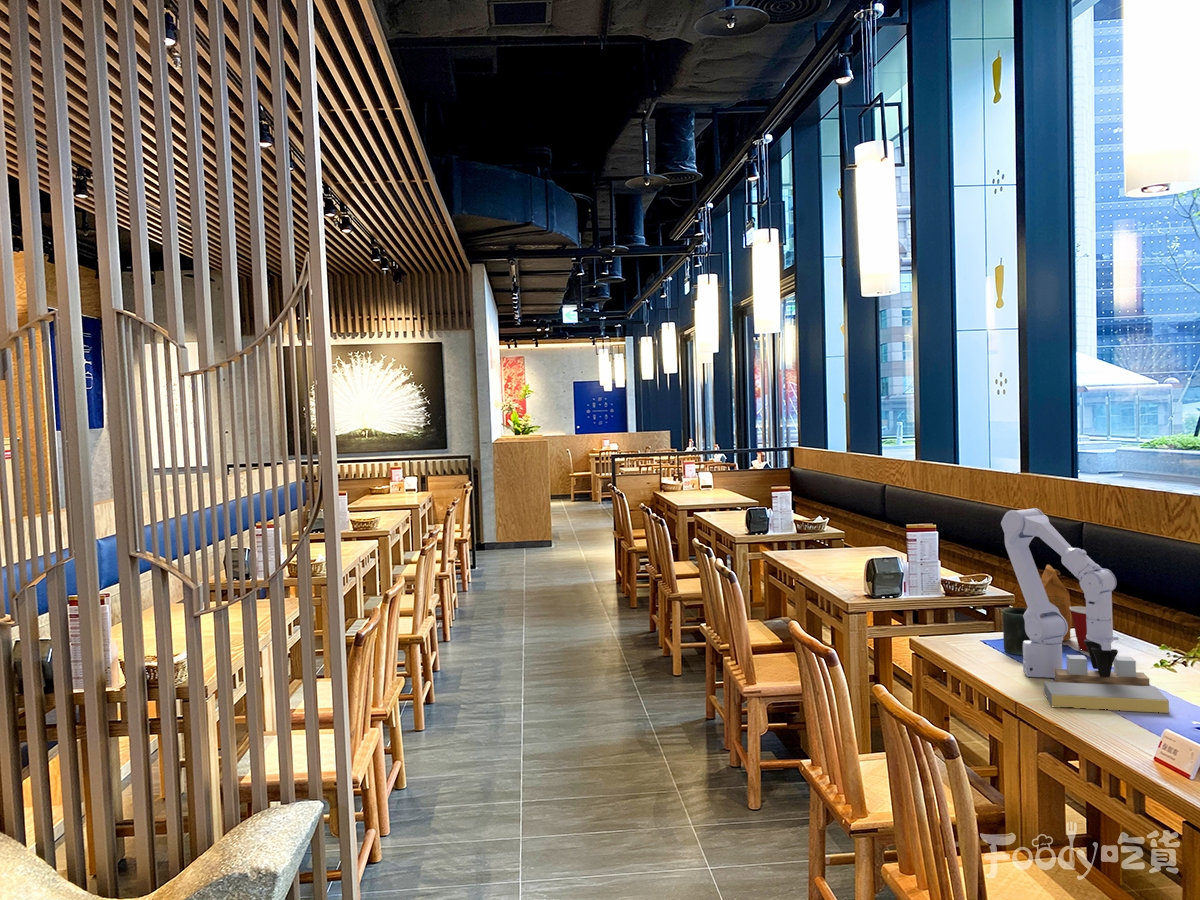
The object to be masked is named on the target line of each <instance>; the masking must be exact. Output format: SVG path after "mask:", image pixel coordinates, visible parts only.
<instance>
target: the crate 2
mask: <svg viewBox="0 0 1200 900" xmlns="http://www.w3.org/2000/svg"><path fill="white" fill-rule="evenodd" d="M1136 667H1137V662H1136V660H1135V659H1134V658H1133V657H1132V656H1120V655H1119V656H1117V655H1116V657H1115V659H1114V661H1113V671H1114V673H1115V674H1116V675H1117V676H1119V677H1136V672H1137V668H1136Z"/></svg>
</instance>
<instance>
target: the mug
mask: <svg viewBox="0 0 1200 900" xmlns="http://www.w3.org/2000/svg"><path fill="white" fill-rule="evenodd" d="M1027 608H1028V607H1022V606H1021V607H1019V606H1017V607H1016V606H1015V607H1005V608H1002V609H1001V610H1000V611H1001V612H1000V613H1002V625H1003V626H1002V631H1003V635H1002V637H1003V649H1004V651H1005V652H1006V653H1008V654H1010V655H1011V654H1012V655H1016V656H1017V655H1018V656H1023V641H1027V640H1030V638H1029V637H1028V636H1027V634H1026V632H1025V620H1024V618H1023V615H1024V613H1025V611H1026V610H1027ZM1040 617H1041V615H1040Z"/></svg>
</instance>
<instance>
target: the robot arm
mask: <svg viewBox="0 0 1200 900" xmlns="http://www.w3.org/2000/svg"><path fill="white" fill-rule="evenodd" d="M1000 526H1001V527H1002V531H1003V534H1004V546H1005V550H1006V552H1007V554H1008V558H1009V560H1010V562H1011V565H1012V568H1013V572H1014V573H1015V577H1016V578H1017V582H1018V584H1019V587H1020V590H1021V593H1022V595H1023V599H1024V601H1025V603H1026V606H1027V607H1026V608H1027V610H1026V611H1025V613H1024V615H1023V618H1024V620H1025V632H1026V634H1027V636H1028V637H1029V638H1030V640H1027V641H1023V655H1022V670H1023V672H1024V673H1025V675H1026V677H1028V678H1045V679H1046V678H1049V679H1050V678H1051V679H1055V669H1064V667H1063V666H1064V664H1063V641H1064V640H1063V636H1065V635H1066V633H1067V631H1068V624H1067V622H1066V620H1065V618H1064V617H1063V616H1062V615H1061V614H1060V612H1059V609H1058V608H1057V607H1056V606H1054V605H1053V604H1051V603H1050V602H1049V600H1048V597H1047V594H1046V592H1045V589H1044V586H1043V584H1042V581H1041V578H1042V577H1041V576H1040V573H1039V571H1038V567H1037V565H1036V563H1035V560H1034V558H1033V555H1032V552H1031V550H1030V547H1029V546H1030V544H1031V542H1032V540H1033V539H1034V538H1035V537H1037V538H1040V540H1041V541H1043V542H1044V543H1045V544H1046V545H1047V546H1049V547H1050V548H1051V549H1053V550H1054V551H1055V552H1056V553H1057V554H1058V555H1059V556H1060V557H1061V558H1060V559H1061V560H1060V561H1061V564H1062V565H1063V566H1064V567H1065V568H1066V569H1067V570H1068V571H1069V572H1071V574H1072V575H1074V577H1075V578H1076V579H1078V581H1079V582H1078V583H1079V586H1080V589H1081V590H1082V592H1083V594H1084V596H1083V597H1084V599H1085V607H1086V622H1087V635H1086V639H1088V640H1083V641H1084V643H1085V645H1086V646H1087V649H1088V651H1087V652H1088V654H1089V658H1090V662H1091V666H1092V669H1093V670H1097V671H1098V672H1099V675H1100V677H1110V674H1111V671H1112V667H1113V665H1114V659H1115V657H1116V656H1117V655H1118V653H1119V650H1118V649H1114V648H1112V643H1113V642H1114V641H1119V639H1120V638H1119V636H1118V635H1114V630H1113V629H1114V627H1113V598H1112V597H1113V596H1112V595H1113V594H1112V591H1114V590H1115V589H1116V587H1117V578H1116V576H1115V574H1114V573H1113V572H1112V570H1110V569H1108V568H1102V566H1100V565H1099V564H1098V563H1096V562H1095V561H1094V560H1093V559H1091V557H1090V556H1089V555H1087V551H1086V550H1085V549H1081V548H1079V547H1073V546H1071V544H1070V543H1069V542H1067V541H1066V539H1065V538H1064V537H1063V536H1062V535H1061V534H1060V533H1059V531H1058V530H1057V529H1056V528H1055V527H1054V526H1053V525H1052V524H1051V523H1050V520H1049V517H1048V515H1045V514H1044V512H1043V511H1042V510H1040V509H1039V508H1037V507H1036V508H1035V507H1033V508H1028V509H1019V510H1014V509H1013V510H1012V509H1011V510H1009V511H1007V512H1005V514H1004V516H1003V517H1002V519H1001V522H1000ZM1040 615H1042V616H1041V617H1040Z"/></svg>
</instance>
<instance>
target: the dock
mask: <svg viewBox="0 0 1200 900" xmlns="http://www.w3.org/2000/svg"><path fill="white" fill-rule="evenodd" d="M1043 689H1044V691H1043V693H1045V694H1044V695H1046V696H1047V697H1046V696H1045V697H1046V699H1047V698H1048V699H1047V700H1049V701H1048V703H1049V702H1050V703H1051V704H1050V703H1049V704H1050V706H1051V705H1052V706H1056V707H1055V708H1060V707H1074V708H1073V709H1080V708H1086V709H1085V710H1099V709H1105V710H1106V709H1108V710H1107V711H1119V710H1120V711H1121V712H1123V711H1124V712H1141V713H1142V712H1144V713H1158V712H1159V713H1162V714H1170V703H1169V702H1170V701H1169V699H1168V698H1167V697H1166V696H1165V695H1164V694H1163V693H1162V692H1161V691H1160V690H1159V689H1158V688H1157V687H1156V686H1155V685H1154V686H1153V685H1150V686H1133V685H1110V684H1087V683H1064V682H1055V681H1044V682H1043ZM1052 706H1051V707H1052ZM1105 710H1104V711H1105Z"/></svg>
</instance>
